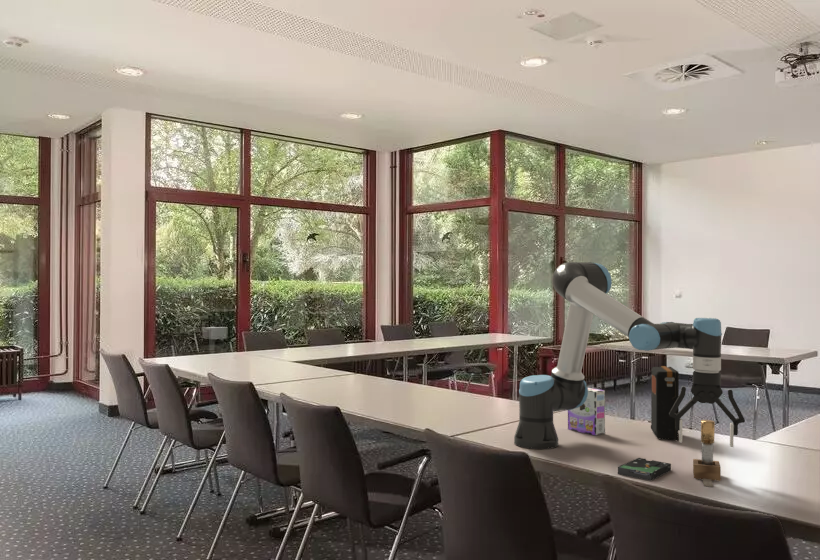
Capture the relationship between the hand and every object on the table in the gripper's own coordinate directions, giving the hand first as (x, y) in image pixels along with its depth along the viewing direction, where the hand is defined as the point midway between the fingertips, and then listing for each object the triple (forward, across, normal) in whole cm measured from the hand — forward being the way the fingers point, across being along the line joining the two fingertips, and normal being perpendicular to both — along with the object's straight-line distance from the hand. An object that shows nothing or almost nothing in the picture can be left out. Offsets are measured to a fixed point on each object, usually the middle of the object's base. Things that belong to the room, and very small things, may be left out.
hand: (705, 443), depth 199 cm
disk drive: (+10, -17, -2) cm, 20 cm away
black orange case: (+10, -11, +51) cm, 53 cm away
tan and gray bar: (+9, 0, -1) cm, 9 cm away
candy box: (+10, -39, +48) cm, 63 cm away
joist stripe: (+9, 0, 0) cm, 10 cm away
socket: (+9, 0, 0) cm, 10 cm away
